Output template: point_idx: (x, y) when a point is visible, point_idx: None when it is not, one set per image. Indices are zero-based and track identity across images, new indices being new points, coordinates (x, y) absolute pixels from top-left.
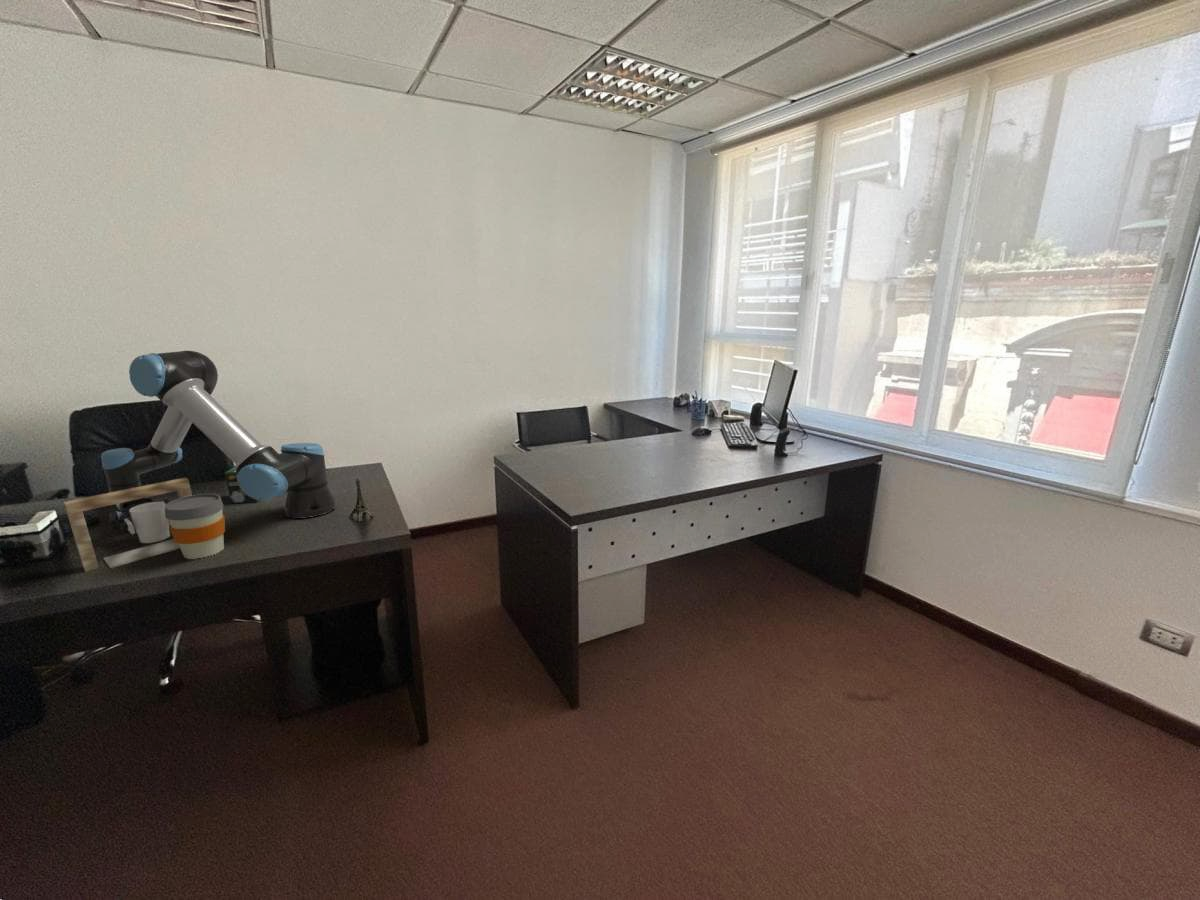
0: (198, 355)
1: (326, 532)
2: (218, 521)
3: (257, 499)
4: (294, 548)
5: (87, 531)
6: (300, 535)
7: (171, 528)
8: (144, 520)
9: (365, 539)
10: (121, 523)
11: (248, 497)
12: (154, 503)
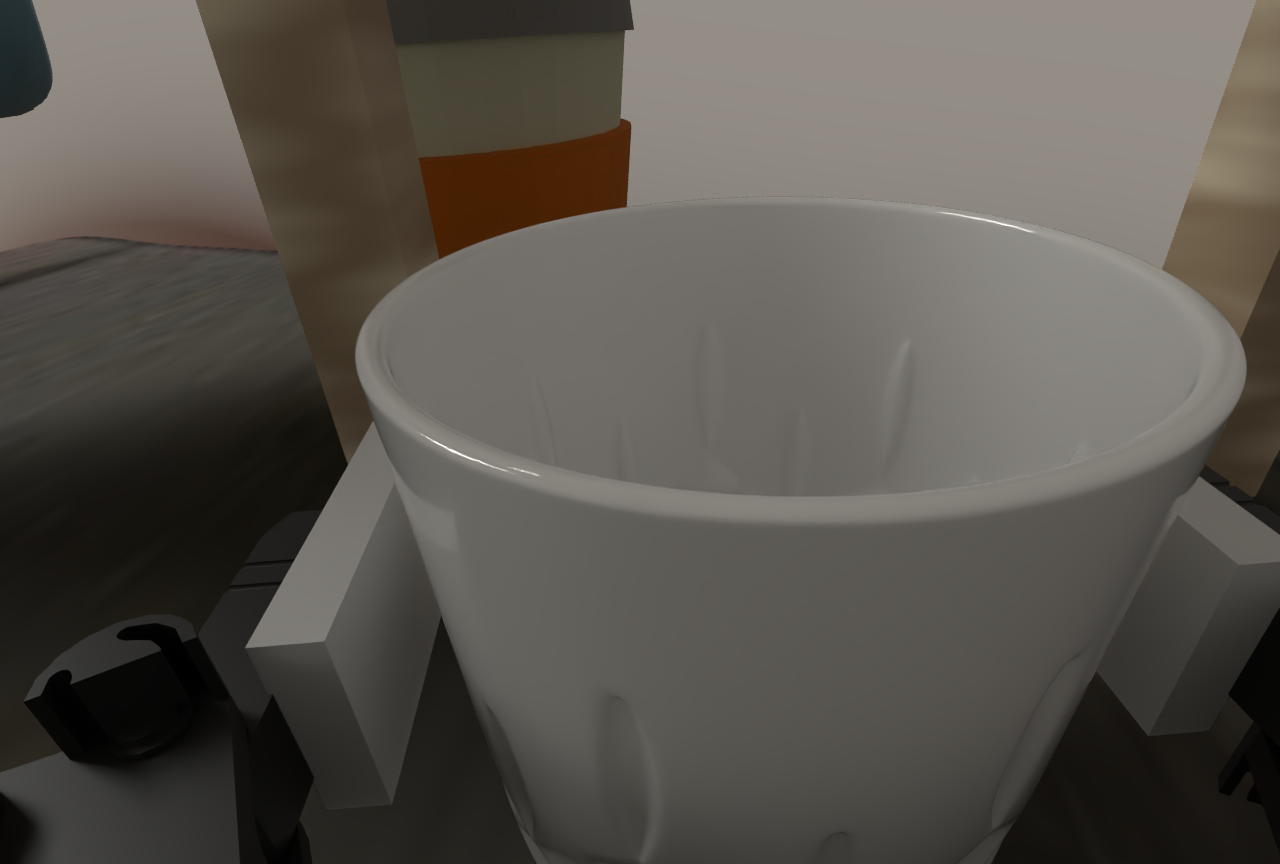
0: None
1: (73, 304)
2: None
3: (48, 92)
4: (278, 273)
5: (1234, 77)
6: (136, 320)
7: (625, 121)
8: (817, 365)
9: (122, 248)
10: (1250, 512)
11: None
12: (535, 489)
